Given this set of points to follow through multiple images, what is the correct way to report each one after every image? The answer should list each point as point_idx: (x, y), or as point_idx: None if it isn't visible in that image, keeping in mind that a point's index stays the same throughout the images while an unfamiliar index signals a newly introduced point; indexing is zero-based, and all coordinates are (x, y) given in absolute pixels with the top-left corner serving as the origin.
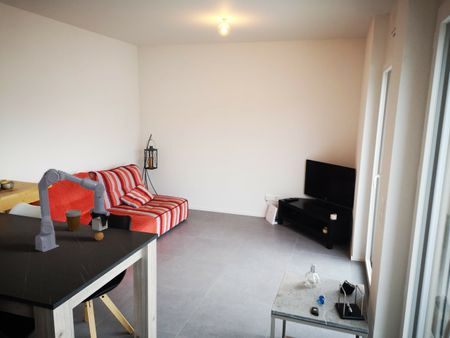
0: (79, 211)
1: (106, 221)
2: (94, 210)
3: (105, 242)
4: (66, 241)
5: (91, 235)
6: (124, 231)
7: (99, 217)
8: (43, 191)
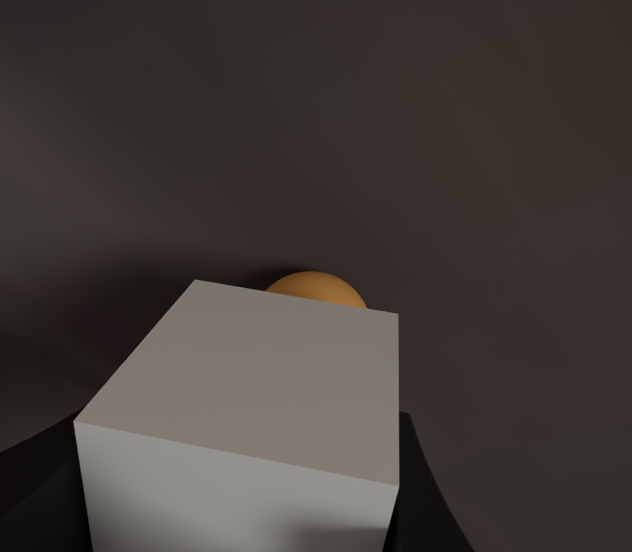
0: None
1: (436, 495)
2: None
3: (444, 333)
4: None
5: (109, 213)
6: None
7: (131, 481)
8: None
